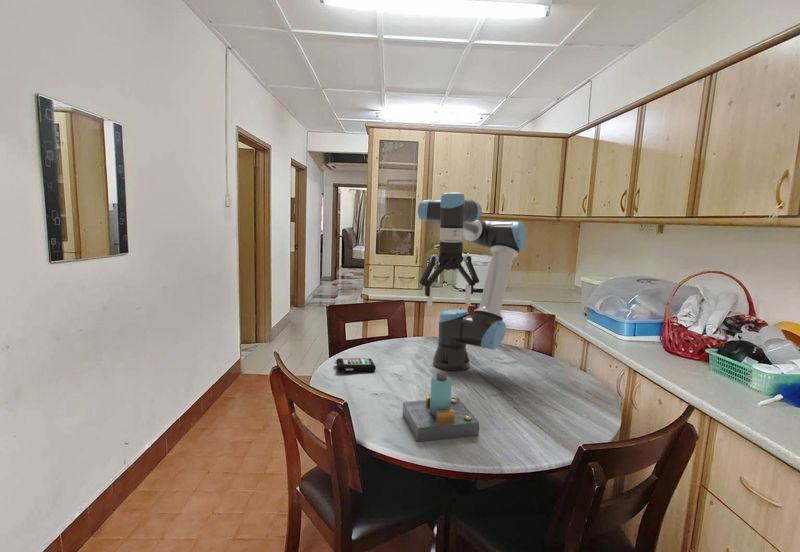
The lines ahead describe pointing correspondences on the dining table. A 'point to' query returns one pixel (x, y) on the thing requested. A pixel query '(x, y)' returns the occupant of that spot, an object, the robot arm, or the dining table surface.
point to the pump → (440, 393)
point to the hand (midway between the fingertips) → (448, 304)
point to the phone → (355, 365)
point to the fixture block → (439, 421)
